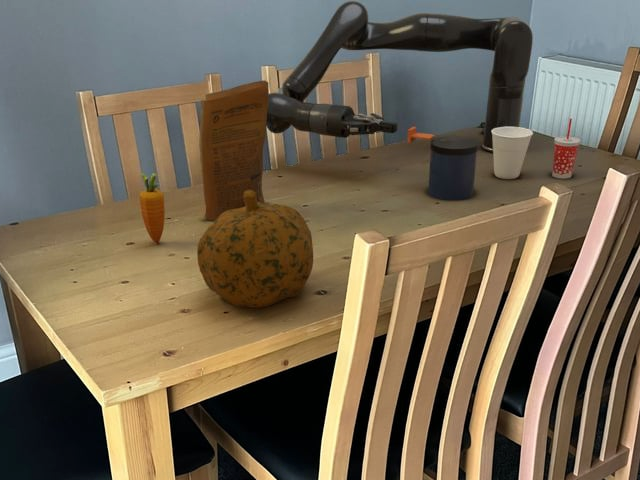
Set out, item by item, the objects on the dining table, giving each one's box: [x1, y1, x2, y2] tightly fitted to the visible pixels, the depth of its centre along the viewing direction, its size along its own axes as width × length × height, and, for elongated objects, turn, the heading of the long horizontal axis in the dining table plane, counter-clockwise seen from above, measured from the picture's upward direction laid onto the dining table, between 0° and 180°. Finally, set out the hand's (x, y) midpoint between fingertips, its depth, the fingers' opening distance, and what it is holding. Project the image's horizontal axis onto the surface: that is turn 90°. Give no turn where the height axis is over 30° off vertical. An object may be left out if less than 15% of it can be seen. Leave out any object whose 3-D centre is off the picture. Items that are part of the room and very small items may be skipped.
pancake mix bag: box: [198, 79, 270, 221], centre depth 173 cm, size 7×19×28 cm, turn 127°
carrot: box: [139, 173, 166, 245], centre depth 162 cm, size 5×5×15 cm
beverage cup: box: [551, 118, 581, 180], centre depth 195 cm, size 6×6×14 cm
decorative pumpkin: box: [196, 190, 314, 309], centre depth 139 cm, size 20×21×20 cm
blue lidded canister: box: [427, 135, 480, 201], centre depth 186 cm, size 11×11×12 cm
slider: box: [406, 126, 436, 144], centre depth 186 cm, size 6×3×3 cm, turn 59°
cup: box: [491, 126, 534, 180], centre depth 196 cm, size 10×10×11 cm
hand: (395, 128), depth 189 cm, fingers closed
